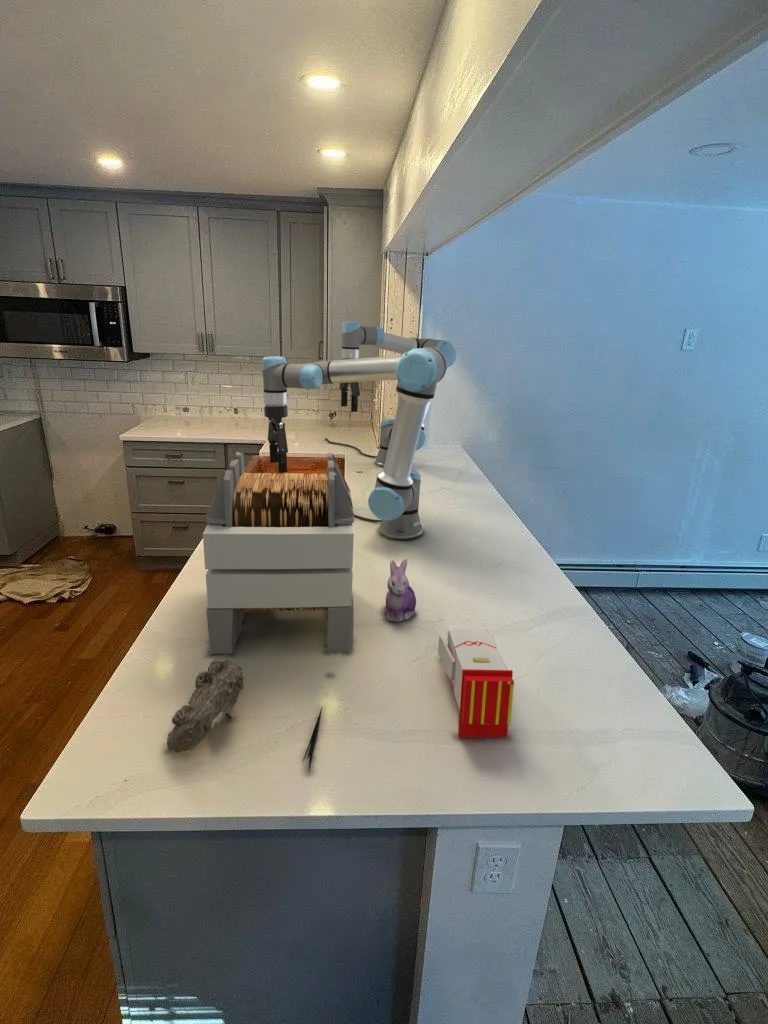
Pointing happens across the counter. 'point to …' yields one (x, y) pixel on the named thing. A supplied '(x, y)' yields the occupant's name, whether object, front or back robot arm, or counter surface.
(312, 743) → the feather
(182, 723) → the fossil
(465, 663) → the toy
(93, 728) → the counter surface
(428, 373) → the front robot arm
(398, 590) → the figurine
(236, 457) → the record crate stand
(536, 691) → the counter surface
